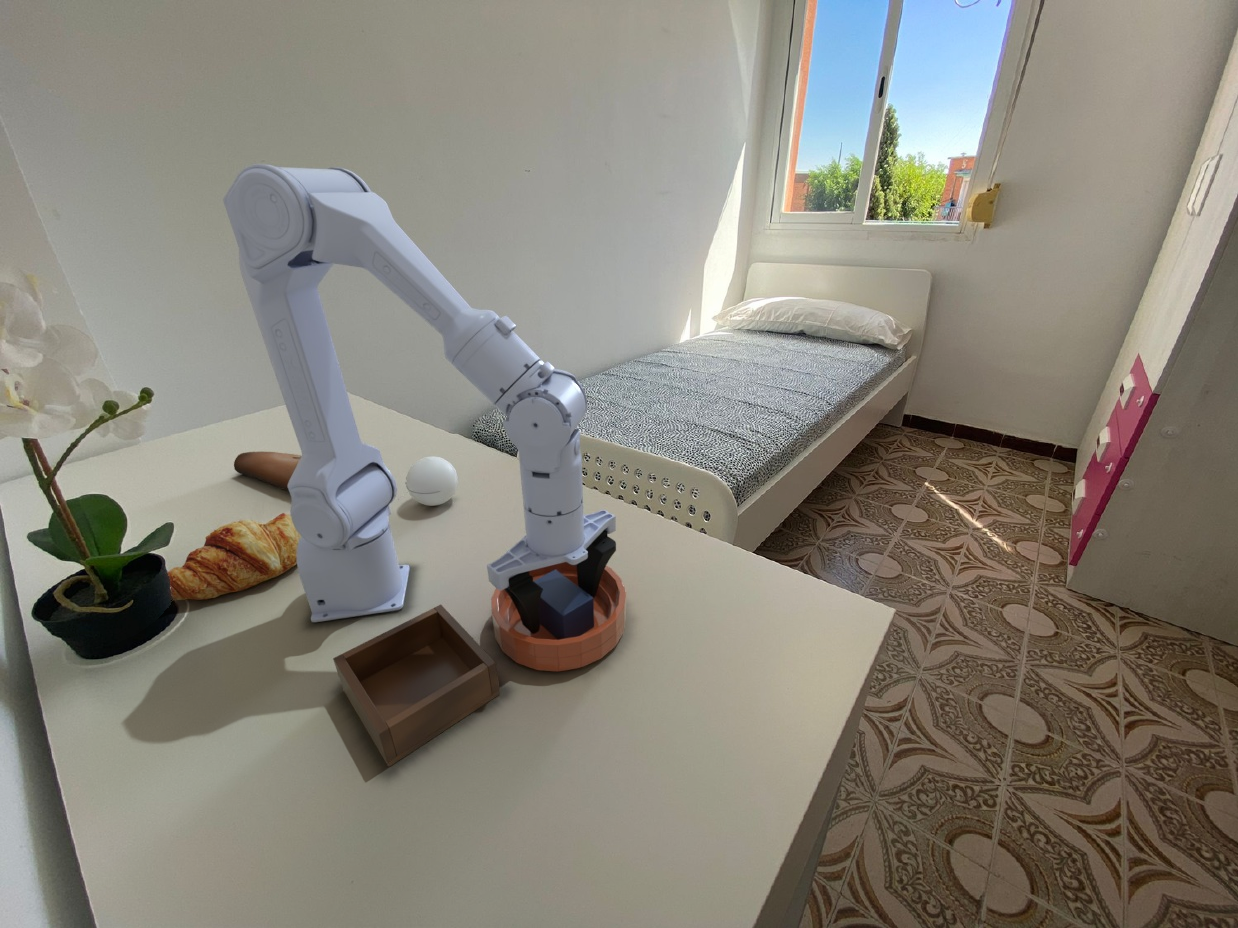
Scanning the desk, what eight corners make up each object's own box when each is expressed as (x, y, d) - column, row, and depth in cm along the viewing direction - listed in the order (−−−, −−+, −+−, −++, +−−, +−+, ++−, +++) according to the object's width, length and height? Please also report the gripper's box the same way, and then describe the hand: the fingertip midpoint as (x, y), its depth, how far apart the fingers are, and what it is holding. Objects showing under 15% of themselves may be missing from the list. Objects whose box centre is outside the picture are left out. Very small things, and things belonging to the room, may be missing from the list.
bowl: (497, 686, 52) (493, 655, 50) (493, 591, 64) (490, 564, 62) (639, 660, 55) (640, 630, 53) (610, 574, 67) (610, 547, 65)
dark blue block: (564, 645, 56) (562, 616, 54) (528, 613, 60) (525, 584, 58) (594, 626, 58) (593, 597, 56) (557, 597, 62) (555, 568, 61)
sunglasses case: (352, 476, 88) (324, 453, 83) (324, 513, 85) (293, 490, 80) (284, 453, 96) (255, 430, 91) (256, 486, 93) (224, 464, 88)
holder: (388, 767, 45) (378, 733, 43) (343, 689, 52) (332, 658, 50) (500, 694, 51) (496, 662, 49) (446, 633, 58) (440, 603, 56)
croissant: (339, 544, 78) (316, 492, 77) (365, 538, 71) (339, 482, 70) (159, 623, 63) (127, 561, 62) (169, 626, 56) (133, 556, 55)
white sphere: (441, 485, 87) (434, 443, 84) (471, 500, 83) (465, 457, 79) (383, 511, 80) (373, 466, 77) (412, 529, 76) (403, 482, 72)
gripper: (512, 549, 45) (525, 667, 51) (636, 490, 54) (634, 597, 60) (469, 516, 50) (485, 628, 56) (590, 466, 59) (593, 568, 65)
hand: (560, 609), depth 58 cm, fingers open, 7 cm apart
